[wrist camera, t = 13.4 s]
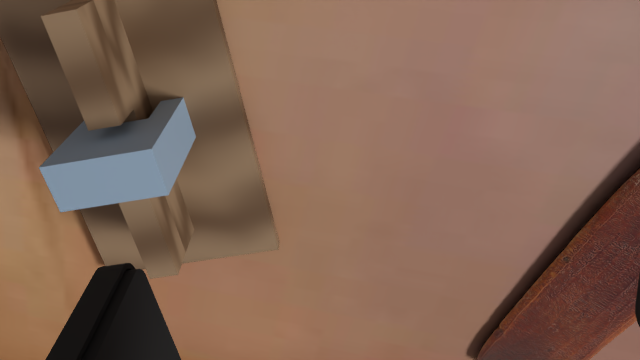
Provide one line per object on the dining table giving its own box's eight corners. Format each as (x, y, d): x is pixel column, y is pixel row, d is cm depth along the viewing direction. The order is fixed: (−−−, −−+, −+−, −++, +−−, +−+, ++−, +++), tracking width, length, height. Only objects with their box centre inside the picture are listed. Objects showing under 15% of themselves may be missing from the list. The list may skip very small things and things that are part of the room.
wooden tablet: (681, 111, 39) (694, 120, 37) (784, 176, 41) (800, 186, 39) (458, 351, 50) (461, 365, 49) (546, 392, 52) (551, 407, 51)
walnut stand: (-25, -40, 34) (-94, -22, 29) (194, -84, 33) (168, -74, 27) (113, 266, 46) (83, 322, 40) (279, 242, 44) (273, 296, 39)
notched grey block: (106, 151, 39) (60, 212, 32) (90, 113, 38) (38, 167, 31) (196, 136, 39) (168, 195, 32) (183, 97, 37) (151, 148, 30)
